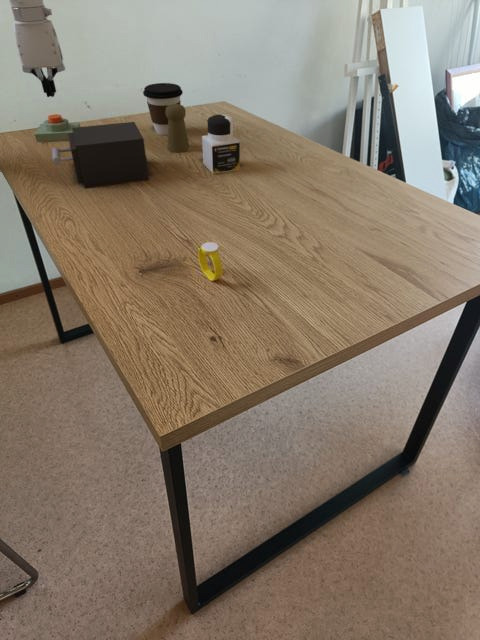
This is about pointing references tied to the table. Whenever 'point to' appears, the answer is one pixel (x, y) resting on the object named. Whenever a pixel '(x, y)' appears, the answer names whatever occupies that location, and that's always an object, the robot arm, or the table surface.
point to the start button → (55, 119)
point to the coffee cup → (161, 103)
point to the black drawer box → (111, 154)
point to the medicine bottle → (221, 145)
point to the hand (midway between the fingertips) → (51, 95)
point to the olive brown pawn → (176, 128)
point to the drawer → (58, 160)
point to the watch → (212, 250)
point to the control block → (55, 131)
